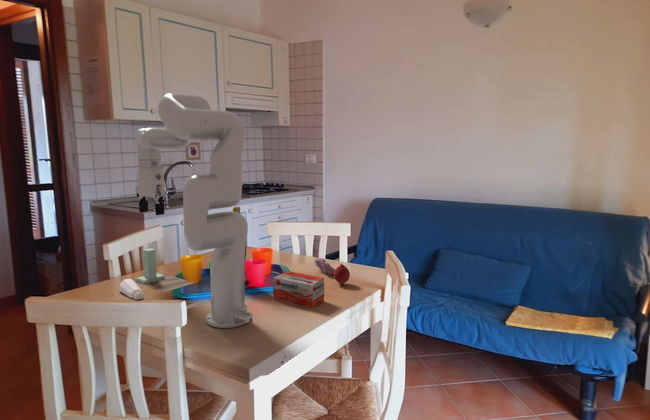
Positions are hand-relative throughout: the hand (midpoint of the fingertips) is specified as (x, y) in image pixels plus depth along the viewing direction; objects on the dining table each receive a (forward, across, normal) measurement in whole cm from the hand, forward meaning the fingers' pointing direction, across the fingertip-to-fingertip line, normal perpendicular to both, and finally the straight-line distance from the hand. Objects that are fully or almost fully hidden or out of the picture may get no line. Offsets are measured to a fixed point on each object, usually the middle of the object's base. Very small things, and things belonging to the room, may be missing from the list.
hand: (151, 213), depth 158 cm
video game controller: (+26, -41, -48) cm, 68 cm away
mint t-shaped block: (+24, 0, +2) cm, 24 cm away
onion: (+26, -54, -40) cm, 72 cm away
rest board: (+25, -4, 0) cm, 26 cm away
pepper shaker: (+23, -3, +13) cm, 26 cm away
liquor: (+26, -24, -17) cm, 39 cm away
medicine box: (+26, -52, -18) cm, 61 cm away
